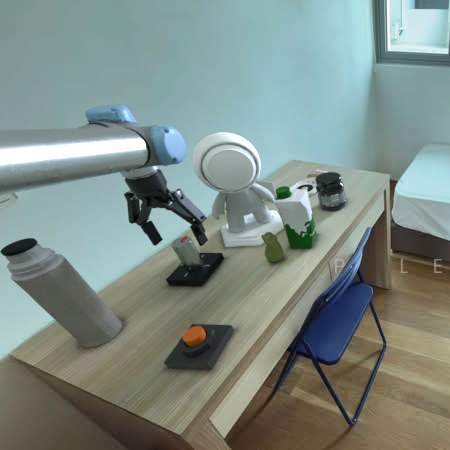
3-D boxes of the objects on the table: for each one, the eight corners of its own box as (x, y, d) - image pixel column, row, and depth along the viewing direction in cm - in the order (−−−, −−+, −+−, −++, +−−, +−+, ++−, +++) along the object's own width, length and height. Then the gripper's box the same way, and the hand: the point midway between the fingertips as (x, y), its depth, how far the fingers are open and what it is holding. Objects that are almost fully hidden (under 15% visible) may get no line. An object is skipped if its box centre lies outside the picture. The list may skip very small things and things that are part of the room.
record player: (333, 173, 139) (304, 193, 124) (334, 179, 141) (305, 200, 126) (313, 168, 143) (282, 188, 129) (314, 175, 145) (284, 194, 131)
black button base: (211, 370, 67) (203, 359, 65) (168, 368, 68) (159, 357, 65) (234, 330, 75) (228, 320, 73) (195, 329, 76) (188, 318, 73)
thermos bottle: (75, 340, 74) (-21, 251, 58) (111, 315, 80) (34, 229, 64) (92, 352, 71) (-3, 262, 55) (129, 326, 77) (52, 237, 61)
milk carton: (294, 234, 107) (279, 182, 95) (320, 233, 106) (308, 181, 95) (286, 250, 100) (269, 197, 88) (314, 249, 99) (300, 196, 88)
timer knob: (197, 271, 89) (183, 246, 84) (181, 271, 90) (166, 246, 84) (207, 259, 93) (194, 235, 88) (192, 259, 94) (178, 235, 88)
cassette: (254, 195, 131) (248, 179, 126) (257, 193, 132) (252, 177, 128) (276, 200, 127) (271, 183, 122) (279, 198, 128) (274, 181, 124)
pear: (287, 260, 96) (279, 234, 90) (270, 267, 93) (261, 242, 87) (281, 251, 99) (273, 226, 94) (265, 258, 97) (255, 233, 91)
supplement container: (330, 195, 128) (325, 169, 121) (351, 200, 124) (347, 173, 117) (314, 208, 120) (307, 180, 113) (336, 213, 116) (331, 185, 110)
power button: (199, 347, 67) (195, 341, 66) (182, 346, 68) (178, 341, 67) (210, 331, 71) (206, 326, 70) (193, 331, 71) (189, 325, 70)
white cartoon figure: (228, 256, 98) (178, 152, 78) (219, 223, 114) (176, 129, 94) (290, 235, 106) (260, 135, 86) (273, 206, 123) (244, 117, 102)
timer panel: (202, 286, 88) (198, 280, 86) (169, 285, 88) (165, 279, 87) (224, 258, 97) (221, 252, 96) (194, 258, 98) (191, 251, 97)
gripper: (80, 180, 72) (129, 250, 84) (180, 179, 70) (215, 251, 82) (107, 167, 78) (149, 234, 90) (200, 166, 76) (230, 235, 88)
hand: (181, 242), depth 86 cm, fingers open, 13 cm apart
